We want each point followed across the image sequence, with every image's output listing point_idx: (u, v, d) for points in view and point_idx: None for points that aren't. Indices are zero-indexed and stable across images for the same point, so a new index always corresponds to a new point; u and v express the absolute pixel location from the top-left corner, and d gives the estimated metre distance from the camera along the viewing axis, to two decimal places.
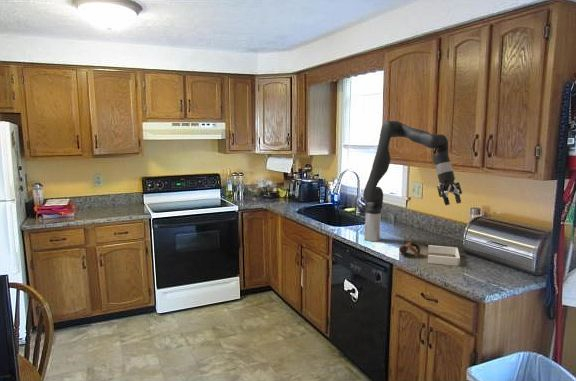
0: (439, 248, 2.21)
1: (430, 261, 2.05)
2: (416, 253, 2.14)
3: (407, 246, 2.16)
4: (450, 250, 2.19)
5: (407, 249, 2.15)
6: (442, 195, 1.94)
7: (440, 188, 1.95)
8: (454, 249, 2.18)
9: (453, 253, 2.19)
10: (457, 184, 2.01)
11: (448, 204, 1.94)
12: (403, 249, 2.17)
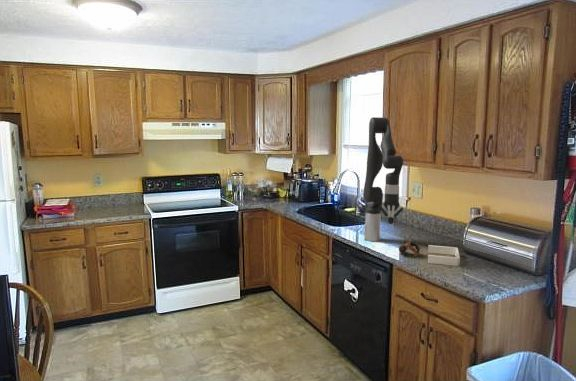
0: (439, 248, 2.21)
1: (430, 261, 2.05)
2: (415, 253, 2.15)
3: (406, 246, 2.17)
4: (450, 250, 2.19)
5: (406, 249, 2.16)
6: (385, 215, 2.19)
7: None
8: (454, 249, 2.18)
9: (453, 253, 2.19)
10: (400, 208, 2.15)
11: (389, 223, 2.19)
12: (402, 249, 2.18)
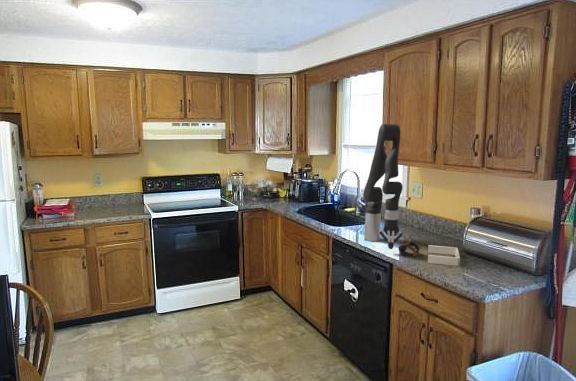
0: (439, 248, 2.21)
1: (430, 261, 2.05)
2: (415, 252, 2.15)
3: (406, 245, 2.17)
4: (450, 250, 2.19)
5: (406, 248, 2.16)
6: (385, 240, 2.20)
7: None
8: (454, 249, 2.18)
9: (453, 253, 2.19)
10: (400, 234, 2.17)
11: (389, 248, 2.20)
12: (402, 248, 2.18)
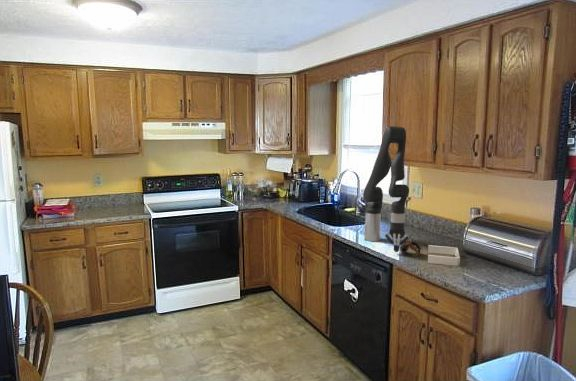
0: (439, 248, 2.21)
1: (430, 261, 2.05)
2: (417, 252, 2.15)
3: (408, 245, 2.17)
4: (450, 250, 2.19)
5: None
6: (390, 242, 2.20)
7: None
8: (454, 249, 2.18)
9: (453, 253, 2.19)
10: (406, 237, 2.16)
11: None
12: (404, 248, 2.18)
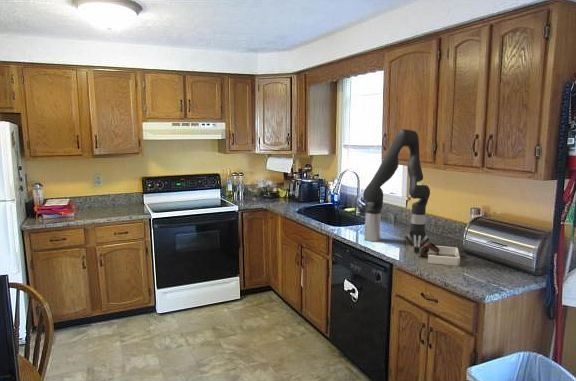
0: (439, 248, 2.21)
1: (430, 261, 2.05)
2: (437, 253, 2.14)
3: (428, 247, 2.14)
4: (450, 250, 2.19)
5: None
6: (410, 244, 2.16)
7: None
8: (454, 249, 2.18)
9: (453, 253, 2.19)
10: (426, 238, 2.12)
11: (415, 253, 2.16)
12: None
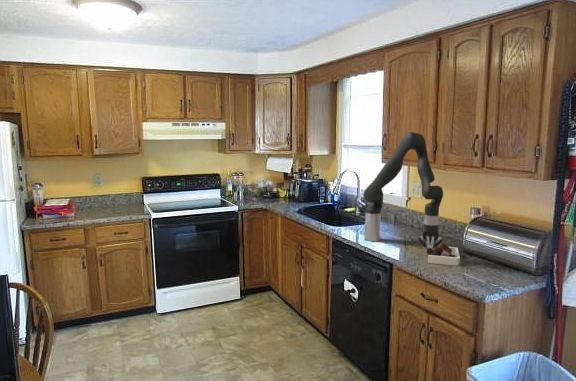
0: None
1: (430, 261, 2.05)
2: (450, 253, 2.13)
3: (441, 248, 2.13)
4: None
5: None
6: (423, 245, 2.14)
7: None
8: (454, 249, 2.18)
9: (453, 253, 2.19)
10: (440, 239, 2.11)
11: (428, 254, 2.14)
12: None
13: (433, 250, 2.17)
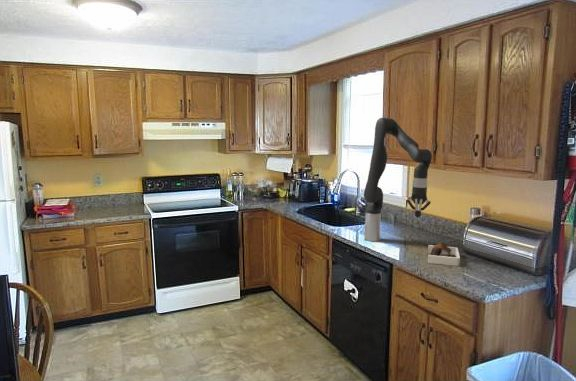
0: None
1: (430, 261, 2.05)
2: (449, 253, 2.13)
3: (440, 247, 2.13)
4: None
5: None
6: (412, 208, 2.19)
7: None
8: (454, 249, 2.18)
9: (453, 253, 2.19)
10: (428, 202, 2.16)
11: None
12: None
13: (432, 250, 2.17)
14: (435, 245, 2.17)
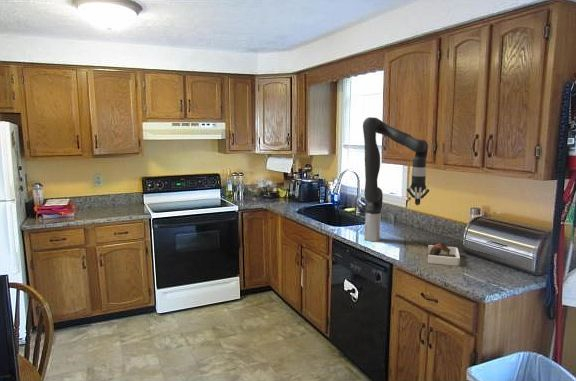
0: None
1: (430, 261, 2.05)
2: (448, 253, 2.14)
3: (439, 247, 2.13)
4: (450, 250, 2.19)
5: None
6: (412, 196, 2.30)
7: None
8: (454, 249, 2.18)
9: (453, 253, 2.19)
10: (426, 190, 2.27)
11: None
12: None
13: (431, 250, 2.17)
14: (434, 245, 2.17)
